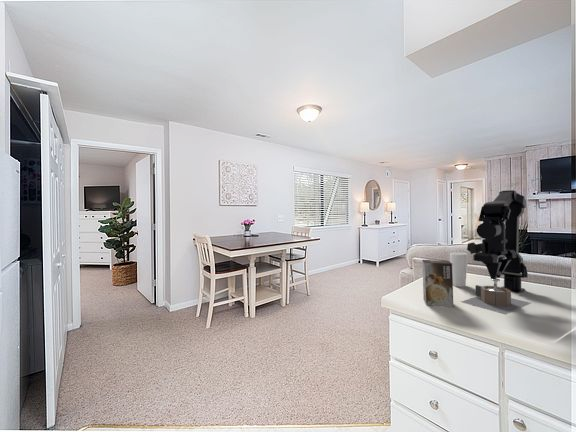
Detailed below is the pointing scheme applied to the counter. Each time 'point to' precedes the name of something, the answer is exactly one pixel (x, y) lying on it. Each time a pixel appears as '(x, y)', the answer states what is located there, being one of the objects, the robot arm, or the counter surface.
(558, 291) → the counter surface
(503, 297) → the brown octagonal ring
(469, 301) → the mat
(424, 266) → the coffee box
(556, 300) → the counter surface
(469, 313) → the counter surface
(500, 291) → the silver stemmed round piece
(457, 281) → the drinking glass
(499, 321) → the counter surface
